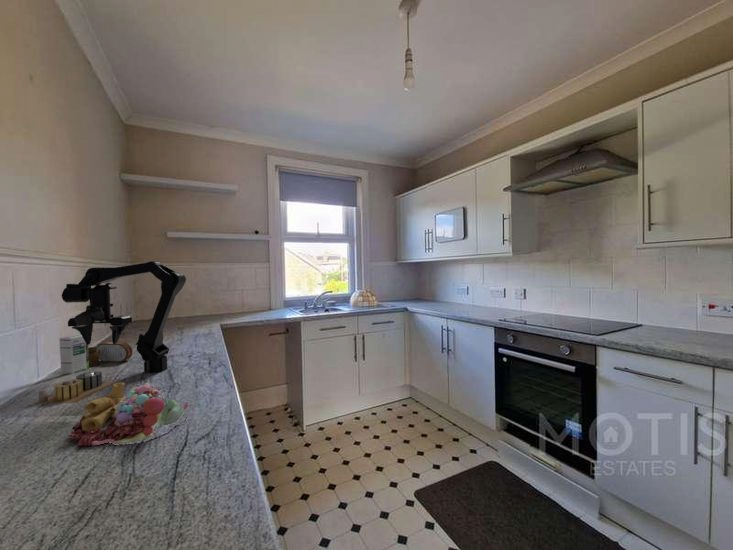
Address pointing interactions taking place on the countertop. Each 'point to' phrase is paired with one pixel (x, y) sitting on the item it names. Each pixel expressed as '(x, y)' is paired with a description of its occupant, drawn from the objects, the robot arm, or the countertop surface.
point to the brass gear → (68, 390)
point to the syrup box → (73, 354)
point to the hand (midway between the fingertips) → (101, 344)
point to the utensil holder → (93, 355)
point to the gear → (91, 380)
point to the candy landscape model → (125, 416)
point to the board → (45, 399)
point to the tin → (114, 351)
